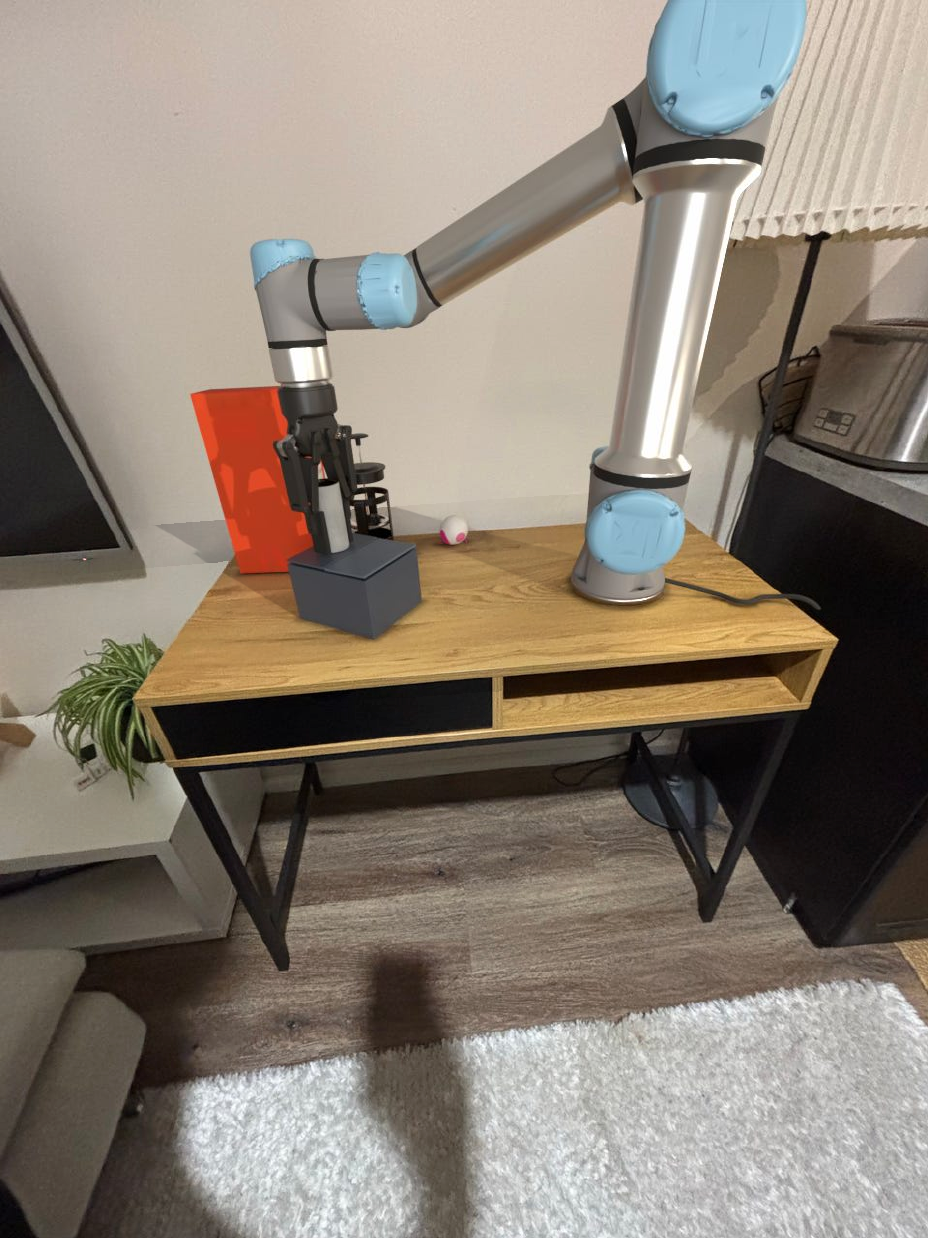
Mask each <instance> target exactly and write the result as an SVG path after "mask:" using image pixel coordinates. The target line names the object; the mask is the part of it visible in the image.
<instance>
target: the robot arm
mask: <svg viewBox="0 0 928 1238" xmlns="http://www.w3.org/2000/svg"><path fill="white" fill-rule="evenodd" d="M806 24H807V0H667V1H666V3H665V5H664V7H663V9H662V12H661V14H660V15H659V18H658V20H657V22H656V23H655V26H654V30H653V32H652V35H651V38H650V39H649V44H648V48H647V57H646V69H645V70H646V71H645V76H644V78H643V79H642V80H641V81H640V82H639V83H638V85H637V86H636V87H634V89H632V91H630V92H629V93H628V94H626V95H625V96H624V97H622V98H621V99H619V100H618V101H617V102H615V103H614V104H612V105H610V106H609V107H608V108H607V110H606V112H605V115H604V118H603V120H602V122H601V124H600V126H598V127H597V128H595V129H594V130H592V131H591V132H589V133H588V134H586V135H585V136H583V137H582V138H580V139H578V140H577V141H575V142H574V143H571V145H569V146H568V147H566V148H565V149H563V150H562V151H560V152H559V153H557V154H555V155H554V156H553V157H551V158H549V159H548V160H546V161H545V162H543V163H542V164H540V165H539V166H537V167H536V168H535V169H532V170H531V171H529V172H528V173H527V174H525V175H524V176H522V177H521V178H519V179H518V180H516V181H514V182H513V183H512V184H510V185H509V186H507V187H506V188H504V189H502V190H501V191H499V192H498V193H496V194H495V195H493V196H492V197H490V198H488V199H487V200H486V201H484V202H483V203H481V204H479V205H478V206H476V207H475V208H473V209H472V210H470V211H469V212H468V213H466V214H464V215H463V216H462V217H460V218H458V219H457V220H455V221H453V222H451V224H449V225H447V226H446V227H444V228H443V229H441V230H440V231H438V232H437V233H435V234H434V235H432V236H431V237H429V238H427V239H426V240H425V241H423V242H422V243H421V244H419V245H416V247H415V248H413V249H412V250H410V251H408V252H407V253H405V254H402V253H384V252H378V251H377V252H371V253H370V254H362V255H361V254H360V255H352V256H343V257H333V258H331V257H330V258H317V257H316V255H315V252H314V248H313V246H312V245H311V243H309V241H306V240H303V239H298V238H281V239H280V238H279V239H277V238H271V239H270V238H269V239H263V240H262V239H261V240H258V241H256V242H254V243H253V244H252V245H251V247H250V250H249V256H250V262H251V269H252V276H253V288H254V291H255V292H256V297H257V301H258V304H259V309H260V314H261V318H262V319H261V320H262V323H263V327H264V331H265V337H266V341H267V347H268V348H267V349H268V353H269V357H270V363H271V367H272V373H273V376H274V381H275V382H276V383H277V384H280V386H281V387H279V388H278V390H277V393H278V398H279V403H280V408H281V412H282V415H283V416H284V417H285V418H286V419H287V422H288V427H287V436H286V437H285V438H283V439H282V440H281V441H274V442H273V448H274V450H275V452H276V453H277V455H278V457H279V459H280V463H281V468H282V472H283V477H284V481H285V486H286V490H287V494H288V499H289V503H290V508H291V510H292V511H295V512H301V513H304V516H305V520H306V524H307V530H308V532H309V534H311V536H312V541H313V546H314V551H315V552H317V553H322V554H327V555H329V554H330V553H331V548H330V542H329V537H328V531H327V526H326V521H325V515H324V512H323V511H319V487H318V465H319V464H320V462H322V464H323V468H324V474H325V476H326V478H333V479H337V480H338V481H339V485H340V491H341V497H342V503H343V509H344V516H345V522H346V528H347V534H348V540H349V543H351V542H353V541H354V540H353V534H352V533H353V528H352V527H351V521H350V519H352V509H351V506H350V503H349V500H355V496H356V495H355V496H354V494H352V493H353V492H357V488H358V485H357V481H356V474H355V467H354V464H355V461H354V454H353V447H352V439H351V436H352V434H353V433H352V432H353V429H352V426H351V425H347V424H340V423H338V421H337V418H336V417H335V414H336V413H337V412H338V409H339V408H338V402H337V401H338V399H337V395H336V388H335V385H333V383H331V382H330V380H332V379H333V377H334V374H333V369H332V361H331V356H330V349H329V345H328V344H329V343H328V338H327V332H335V331H362V330H365V331H366V330H382V331H386V330H394V329H396V328H400V329H410V328H413V327H415V326H418V325H419V324H422V323H423V322H425V320H426V319H427V318H428V317H429V315H431V314H432V313H433V312H435V311H437V310H438V309H440V308H441V307H443V306H444V305H446V304H448V303H449V302H451V301H453V300H454V299H456V298H458V297H461V295H463V294H465V293H466V292H468V291H470V290H472V289H473V288H475V287H476V286H478V285H480V284H482V283H484V282H486V281H487V280H489V279H491V278H492V277H493V276H494V277H495V276H496V275H497V274H500V273H501V272H502V271H504V270H506V269H508V268H509V267H511V266H513V265H514V264H516V263H518V262H519V261H522V260H523V259H524V258H526V257H528V256H530V255H531V254H533V253H535V252H537V251H538V250H540V249H542V248H543V247H545V246H547V245H548V244H550V243H553V242H554V241H555V240H557V239H559V238H561V237H563V236H564V235H566V234H568V233H570V232H571V231H573V230H574V229H576V228H578V227H579V226H581V225H583V224H584V223H586V222H588V221H590V220H591V219H593V218H595V217H596V216H598V215H600V214H602V213H603V212H605V211H608V209H610V208H612V207H614V206H615V205H617V204H619V203H625V204H627V205H630V206H634V205H636V204H638V203H640V202H641V201H643V203H644V205H643V212H642V218H641V226H640V232H639V240H638V246H637V252H636V253H637V254H636V258H635V259H636V260H635V267H634V272H633V273H634V274H633V280H632V288H631V294H630V301H629V308H628V315H627V323H626V328H625V334H624V342H623V349H622V356H621V363H620V370H619V376H618V384H617V390H616V395H615V404H614V410H613V411H614V412H613V417H612V425H611V432H610V438H609V444H608V445H607V446H605V445H604V446H600V447H596V448H595V450H593V452H592V454H591V459H590V460H591V461H590V464H589V466H588V467H589V470H590V471H589V482H588V483H589V485H588V495H587V496H588V497H587V507H586V508H587V510H586V521H585V525H584V542H583V544H582V547H581V549H580V551H579V553H578V556H577V558H576V561H575V563H574V565H573V568H572V571H571V573H570V574H571V575H570V586H571V588H572V589H571V590H572V591H574V593H575V594H577V595H579V596H580V597H581V598H583V599H585V600H588V601H590V602H593V603H596V604H600V605H604V606H610V607H621V608H623V607H624V608H626V607H627V608H629V607H639V606H644V605H648V604H651V603H653V602H655V601H657V600H659V599H660V598H661V597H662V596H663V595H664V592H665V587H666V584H669V585H672V586H677V587H681V588H684V589H688V590H693V591H696V592H700V593H704V594H707V595H711V596H715V597H718V598H721V599H724V600H726V601H729V602H731V603H734V604H739V605H752V604H755V603H757V602H759V601H762V600H783V599H784V600H785V599H786V600H798V601H802V602H804V603H806V604H808V605H809V606H811V607H812V608H813V609H815V610H821V609H822V608H821V606H820V605H819V604H818V603H817V602H816V601H815V600H813V599H812V598H810V597H808V596H805V595H800V594H797V593H766V594H765V593H764V594H759V595H756V596H754V597H751V598H748V599H746V598H745V599H743V598H737V597H734V596H732V595H729V594H726V593H724V592H721V591H717V590H715V589H712V588H711V589H710V588H708V587H703V586H700V585H695V584H691V583H688V582H684V581H680V580H675V579H671V578H667V577H666V575H665V571H664V569H665V568H664V565H666V564H668V563H669V562H670V561H671V560H672V559H673V558H674V557H675V556H676V555H677V554H678V552H679V550H680V549H681V547H682V545H683V543H684V540H685V533H686V529H687V528H686V519H685V514H684V511H683V509H684V505H685V501H686V496H687V493H688V489H689V488H688V487H689V483H690V479H691V474H692V471H693V465H692V463H691V462H690V461H689V459H688V458H687V457H686V455H685V454H684V451H683V450H684V444H685V440H686V437H687V436H686V435H687V431H688V427H689V423H690V422H689V421H690V418H691V412H692V408H693V404H694V398H695V393H696V391H697V385H698V382H699V381H698V380H699V376H700V372H701V368H702V367H701V366H702V362H703V359H704V358H703V357H704V352H705V348H706V344H707V339H708V334H709V329H710V326H711V320H712V316H713V311H714V307H715V302H716V298H717V292H718V288H719V283H720V279H721V274H722V269H723V264H724V261H725V255H726V252H727V246H728V243H729V237H730V232H731V228H732V224H733V220H734V215H735V209H736V205H737V201H738V198H739V197H740V195H741V193H743V191H744V190H746V188H747V187H748V186H750V184H751V183H753V182H754V180H756V179H757V178H758V177H759V176H760V175H761V170H762V166H763V162H764V159H765V154H766V150H767V146H768V141H769V137H770V132H771V128H772V123H773V119H774V114H775V110H776V106H777V102H778V97H779V95H781V93H782V91H783V90H784V88H785V87H786V85H787V83H788V81H789V79H790V77H791V76H792V75H793V71H794V67H795V66H796V64H797V61H798V59H799V55H800V52H801V48H802V44H803V40H804V36H805V32H806V31H805V30H806ZM295 446H296V447H295ZM307 457H311V458H307ZM348 482H349V484H347V483H348ZM309 503H310V504H309Z"/></svg>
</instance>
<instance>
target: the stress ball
mask: <svg viewBox="0 0 928 1238" xmlns="http://www.w3.org/2000/svg"><path fill="white" fill-rule="evenodd" d="M438 531H439V536H440V538H441V540H442V541H443V542H439V543H437V545H440V544H443V543H444V544H448V545H451V546H453V545H454V546H455V545H458V544H460V543H461V544H462V543H463V542H464V541H465V543H468V540H467V539H466V538H467V536H468V534H469V525H468V523H467V521H466V519H464V518H463V517H462V516H461V515H455V514H454V515H449V516H447V517H446V518H444V519H443V520H442V521H441V522H440V525H439V530H438Z"/></svg>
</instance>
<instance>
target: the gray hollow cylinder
mask: <svg viewBox="0 0 928 1238" xmlns="http://www.w3.org/2000/svg"><path fill="white" fill-rule="evenodd" d="M318 487H319V511H323V512H324V515H325V521H326V526H327V531H328V537H329V542H330V548H331V553H336V552H340V551H343V550H346V549H347V548H348V547H349V540H348V534H347V528H346V522H345V516H344V509H343V503H342V497H341V491H340V485H339V481H338V480H337V479H333V478H327V477H325V478H324V479H318Z"/></svg>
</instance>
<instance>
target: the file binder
mask: <svg viewBox="0 0 928 1238" xmlns="http://www.w3.org/2000/svg"><path fill="white" fill-rule="evenodd" d="M279 387H281V385H271V386H269V385H268V386H250V387H248V386H247V387H246V386H245V387H230V388H229V387H228V388H227V387H226V388H209V389H204V390H201V391H197V392H196V391H195V392H192V393H190V399H191V400H190V401H191V403H192V406H193V410H194V414H195V417H196V420H197V423H198V428H199V431H200V435H201V437H202V442H203V445H204V450H205V452H206V456H207V459H208V463H209V467H210V471H211V474H212V478H213V481H214V484H215V489H216V492H217V495H218V500H219V502H220V505H221V506H220V507H221V509H222V513H223V516H224V519H225V524H226V527H227V530H228V534H229V537H230V541H231V544H232V549H233V550H234V551H233V552H234V555H235V559H236V563H237V566H238V569H239V573H240V574H257V573H259V574H260V573H263V574H264V573H287V572H288V573H289V570H288V566H287V564H289V563H291V562H287V559H289V558H291V557H293V556H295V555H297V554H299V553H301V552H303V551H305V550H307V549H309V548H311V547H313V541H312V536H311V534H309V532H308V530H307V524H306V520H305V516H304V513H301V512H295V511H292V510H291V508H290V503H289V499H288V494H287V490H286V486H285V481H284V477H283V472H282V468H281V463H280V459H279V457H278V455H277V453H276V452H275V450H274V448H273V442H274V441H281V440H282V439H283V438H285V437H286V436H287V427H288V422H287V419H286V418H285V417H284V416H283V415H282V412H281V408H280V403H279V398H278V393H277V390H278V388H279ZM295 447H296V446H295ZM307 458H311V457H307ZM324 478H326V473H325V470H324V467H323V464H322V462H320V464H319V465H318V479H324ZM309 504H310V503H309Z"/></svg>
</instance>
